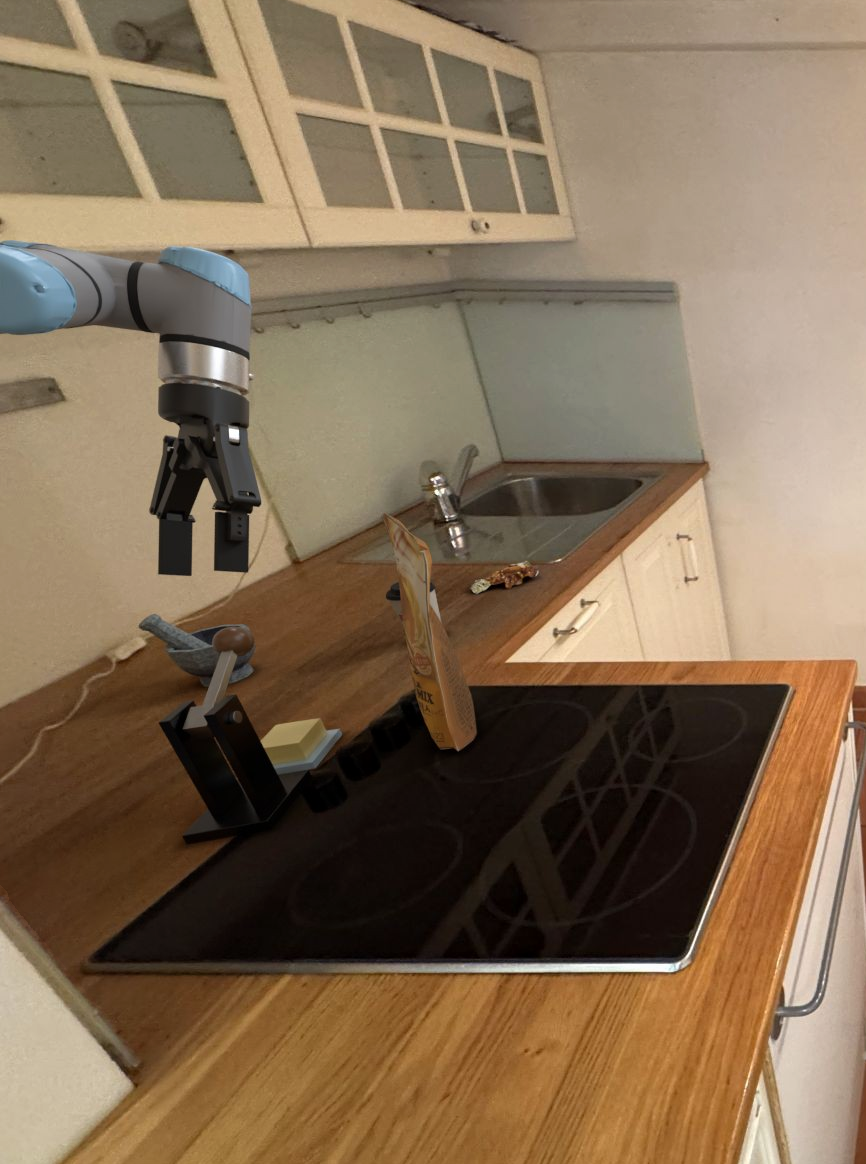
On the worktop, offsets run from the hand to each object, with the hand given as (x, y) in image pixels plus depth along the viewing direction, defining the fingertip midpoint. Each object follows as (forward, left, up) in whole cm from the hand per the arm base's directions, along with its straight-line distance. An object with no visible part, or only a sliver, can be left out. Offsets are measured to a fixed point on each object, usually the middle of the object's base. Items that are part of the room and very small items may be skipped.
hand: (202, 573), depth 88 cm
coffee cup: (+6, +33, -25) cm, 42 cm away
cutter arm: (+1, -6, -12) cm, 14 cm away
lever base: (+1, -12, -25) cm, 28 cm away
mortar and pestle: (-21, +28, -25) cm, 43 cm away
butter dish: (+1, -1, -25) cm, 25 cm away
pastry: (+13, +56, -25) cm, 63 cm away
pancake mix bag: (+19, +1, -25) cm, 32 cm away
